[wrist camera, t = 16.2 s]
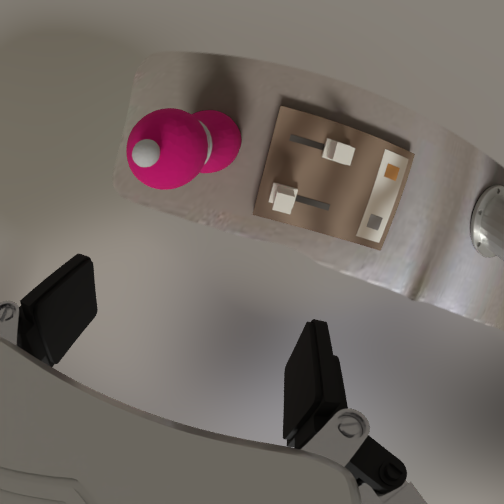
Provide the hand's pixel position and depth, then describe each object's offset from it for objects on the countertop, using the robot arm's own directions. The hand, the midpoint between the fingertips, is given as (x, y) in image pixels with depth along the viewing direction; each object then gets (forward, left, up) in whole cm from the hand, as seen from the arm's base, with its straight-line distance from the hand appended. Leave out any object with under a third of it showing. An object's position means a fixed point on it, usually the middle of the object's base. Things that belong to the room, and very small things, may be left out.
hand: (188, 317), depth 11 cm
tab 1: (-4, -1, -25) cm, 25 cm away
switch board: (-10, -4, -26) cm, 28 cm away
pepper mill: (+6, -5, -26) cm, 27 cm away
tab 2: (-9, -8, -25) cm, 27 cm away
